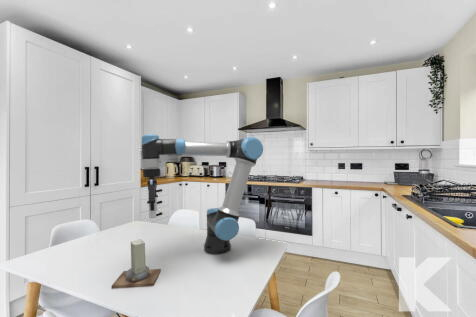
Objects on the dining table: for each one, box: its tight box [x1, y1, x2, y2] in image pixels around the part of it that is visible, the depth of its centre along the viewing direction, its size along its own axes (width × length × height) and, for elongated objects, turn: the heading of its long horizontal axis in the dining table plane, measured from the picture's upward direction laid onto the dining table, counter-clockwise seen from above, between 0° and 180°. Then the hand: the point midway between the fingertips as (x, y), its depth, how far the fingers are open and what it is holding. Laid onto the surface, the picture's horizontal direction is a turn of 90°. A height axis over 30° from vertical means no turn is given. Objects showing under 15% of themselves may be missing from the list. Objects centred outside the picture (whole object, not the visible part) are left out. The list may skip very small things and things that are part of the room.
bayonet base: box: [111, 266, 162, 290], centre depth 96 cm, size 16×12×4 cm
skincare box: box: [130, 239, 147, 275], centre depth 96 cm, size 6×4×12 cm
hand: (153, 214), depth 104 cm, fingers open, 13 cm apart
